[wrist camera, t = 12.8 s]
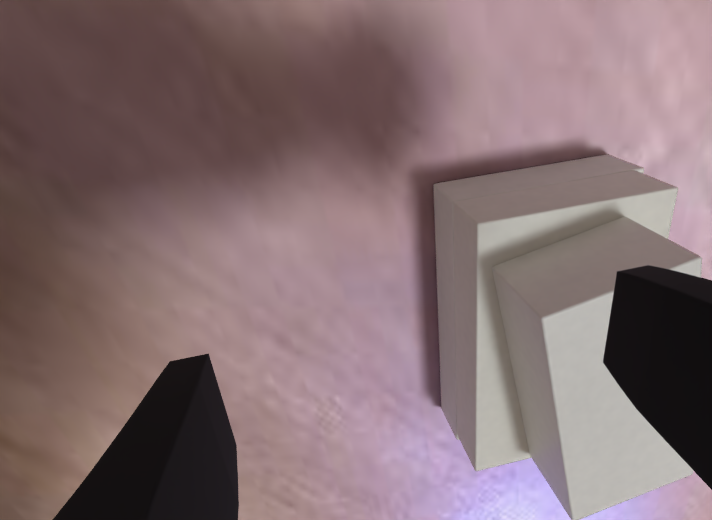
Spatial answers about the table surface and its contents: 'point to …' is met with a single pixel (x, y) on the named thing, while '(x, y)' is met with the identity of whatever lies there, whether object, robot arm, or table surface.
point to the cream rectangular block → (584, 365)
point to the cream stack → (505, 242)
